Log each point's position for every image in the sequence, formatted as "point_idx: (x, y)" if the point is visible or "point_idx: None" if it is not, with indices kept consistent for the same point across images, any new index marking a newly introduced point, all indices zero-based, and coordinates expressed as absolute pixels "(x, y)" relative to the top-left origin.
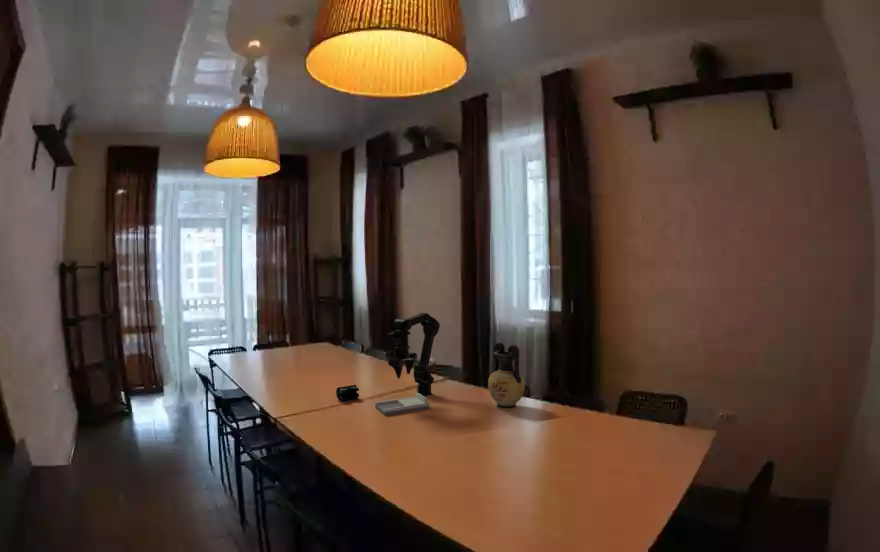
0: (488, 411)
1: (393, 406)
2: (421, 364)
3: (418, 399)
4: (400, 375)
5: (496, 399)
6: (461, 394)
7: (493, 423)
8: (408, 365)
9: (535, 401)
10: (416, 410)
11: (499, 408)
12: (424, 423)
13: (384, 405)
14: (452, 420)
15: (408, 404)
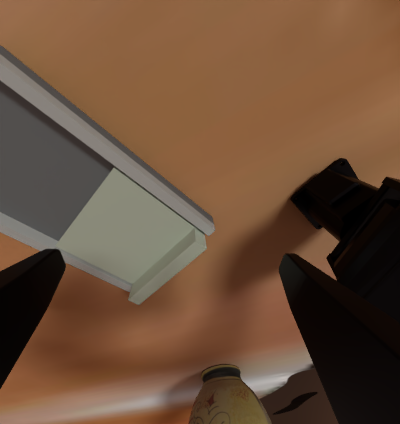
0: (183, 363)
1: (43, 180)
2: None
3: (172, 247)
4: (37, 310)
5: (197, 399)
6: None
7: (116, 382)
8: (373, 398)
9: (269, 385)
10: None
11: (203, 372)
12: None
13: (18, 122)
14: (85, 344)
15: (83, 245)
